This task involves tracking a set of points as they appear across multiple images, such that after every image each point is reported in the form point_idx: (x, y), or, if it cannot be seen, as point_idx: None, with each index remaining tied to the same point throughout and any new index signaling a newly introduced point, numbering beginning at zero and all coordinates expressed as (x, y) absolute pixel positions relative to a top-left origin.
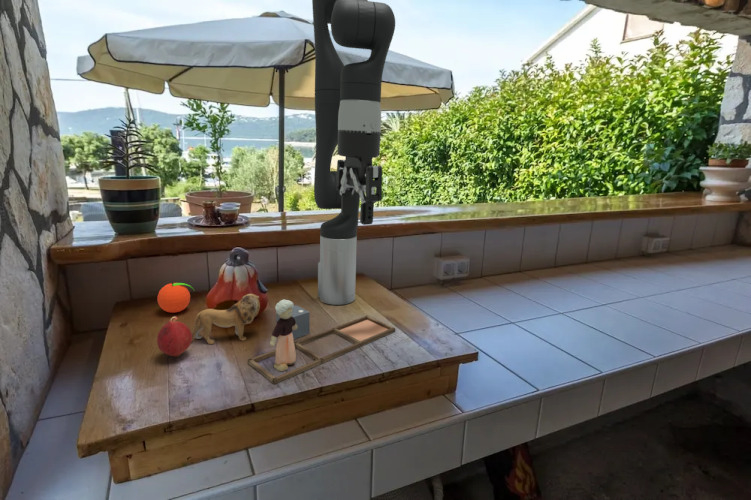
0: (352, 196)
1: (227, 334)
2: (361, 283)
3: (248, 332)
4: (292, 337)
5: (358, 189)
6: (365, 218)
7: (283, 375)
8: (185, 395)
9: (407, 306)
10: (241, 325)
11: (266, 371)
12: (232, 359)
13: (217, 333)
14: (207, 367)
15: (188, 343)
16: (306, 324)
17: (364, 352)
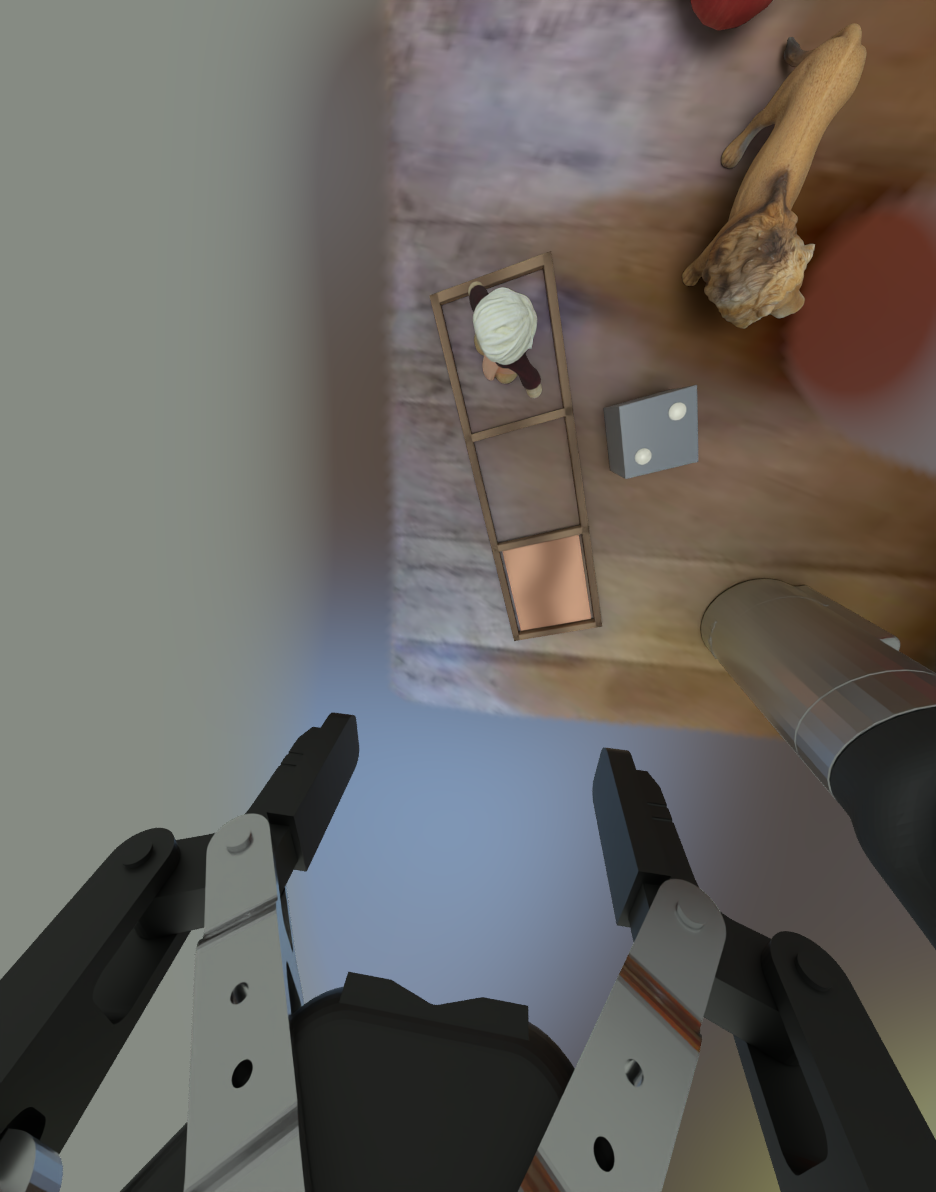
0: (618, 917)
1: None
2: None
3: None
4: (492, 365)
5: (219, 931)
6: (299, 742)
7: (439, 325)
8: (478, 21)
9: (602, 721)
10: (707, 252)
11: None
12: (594, 212)
13: None
14: (590, 118)
15: (696, 3)
16: (616, 464)
17: (467, 540)
